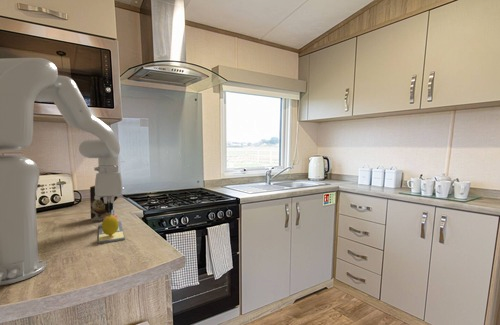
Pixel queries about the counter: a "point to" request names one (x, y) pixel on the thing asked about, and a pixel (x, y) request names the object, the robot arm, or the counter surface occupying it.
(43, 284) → the counter surface
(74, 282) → the counter surface
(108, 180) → the robot arm
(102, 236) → the board
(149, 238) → the counter surface
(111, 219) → the lemon
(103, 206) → the coffee box
